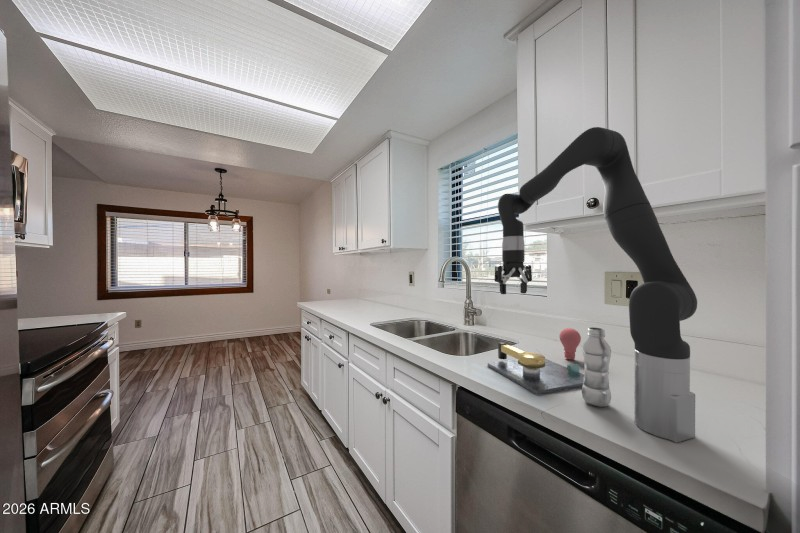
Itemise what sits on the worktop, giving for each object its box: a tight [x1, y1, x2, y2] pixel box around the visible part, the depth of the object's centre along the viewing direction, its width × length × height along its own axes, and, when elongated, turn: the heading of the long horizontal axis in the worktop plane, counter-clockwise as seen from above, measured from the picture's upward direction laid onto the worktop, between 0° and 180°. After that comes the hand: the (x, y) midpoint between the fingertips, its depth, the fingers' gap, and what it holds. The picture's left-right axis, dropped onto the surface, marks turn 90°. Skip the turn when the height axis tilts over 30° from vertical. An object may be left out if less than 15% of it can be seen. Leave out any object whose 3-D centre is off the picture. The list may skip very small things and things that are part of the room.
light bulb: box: [559, 327, 582, 361], centre depth 111 cm, size 7×7×12 cm
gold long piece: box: [497, 341, 546, 368], centre depth 98 cm, size 20×8×6 cm, turn 17°
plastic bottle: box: [581, 326, 612, 408], centre depth 76 cm, size 6×7×20 cm
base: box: [487, 358, 584, 396], centre depth 97 cm, size 24×23×5 cm
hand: (513, 293), depth 105 cm, fingers open, 8 cm apart
